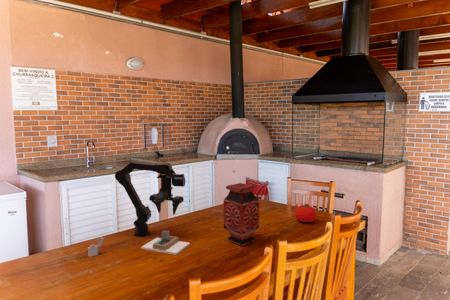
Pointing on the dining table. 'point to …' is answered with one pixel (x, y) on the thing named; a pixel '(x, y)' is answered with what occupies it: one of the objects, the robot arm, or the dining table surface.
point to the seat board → (167, 246)
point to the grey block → (165, 237)
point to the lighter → (94, 248)
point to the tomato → (305, 213)
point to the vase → (241, 213)
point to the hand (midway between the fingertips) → (166, 213)
